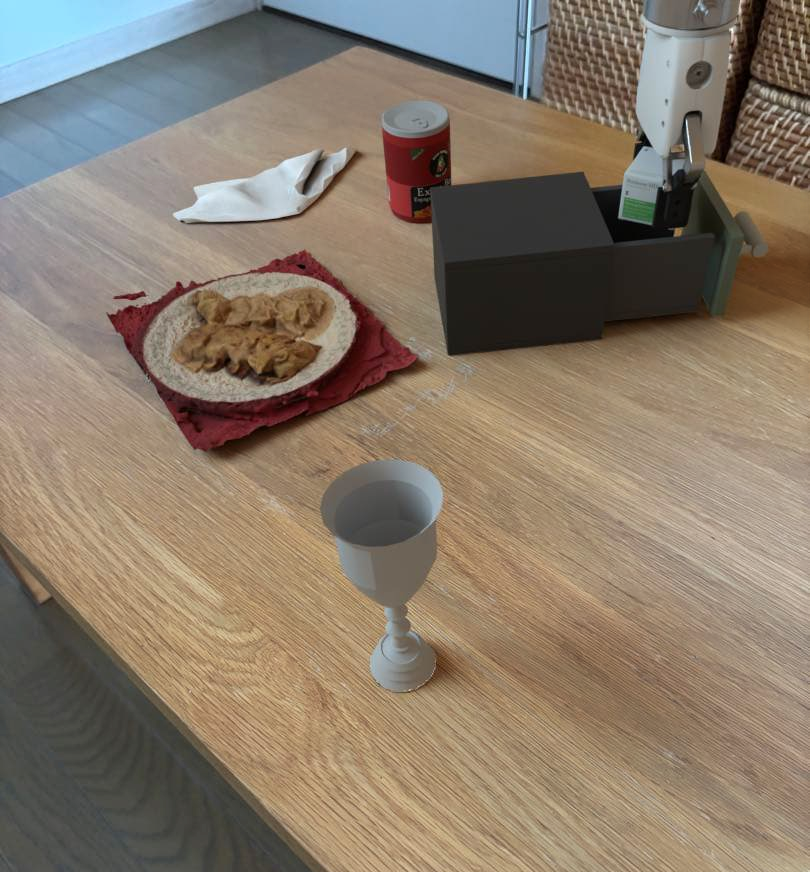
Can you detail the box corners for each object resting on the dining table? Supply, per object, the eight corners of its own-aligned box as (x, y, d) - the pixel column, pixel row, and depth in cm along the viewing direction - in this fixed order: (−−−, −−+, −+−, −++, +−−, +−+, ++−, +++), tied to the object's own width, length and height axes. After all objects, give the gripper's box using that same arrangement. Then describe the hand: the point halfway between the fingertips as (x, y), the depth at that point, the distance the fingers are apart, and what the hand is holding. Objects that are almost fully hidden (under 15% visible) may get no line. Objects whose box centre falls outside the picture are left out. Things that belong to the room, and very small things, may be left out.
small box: (616, 220, 83) (622, 171, 79) (636, 192, 86) (643, 143, 82) (674, 233, 81) (683, 183, 77) (693, 203, 84) (703, 154, 80)
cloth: (188, 247, 103) (183, 230, 101) (163, 195, 111) (158, 178, 109) (389, 190, 108) (388, 173, 106) (351, 145, 116) (349, 128, 115)
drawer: (728, 243, 94) (747, 165, 87) (767, 311, 86) (791, 231, 79) (556, 261, 94) (562, 184, 87) (580, 330, 86) (588, 252, 80)
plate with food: (201, 467, 79) (192, 441, 77) (110, 323, 93) (99, 296, 91) (421, 372, 86) (420, 344, 83) (305, 251, 100) (301, 224, 98)
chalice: (374, 719, 61) (344, 564, 48) (341, 646, 66) (303, 484, 52) (467, 680, 63) (463, 519, 49) (428, 611, 67) (415, 444, 53)
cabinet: (574, 263, 95) (583, 171, 87) (602, 339, 87) (614, 244, 78) (434, 278, 95) (430, 187, 87) (447, 355, 87) (444, 262, 79)
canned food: (419, 231, 102) (413, 139, 93) (375, 207, 106) (366, 116, 97) (466, 206, 104) (464, 114, 96) (422, 183, 109) (417, 93, 100)
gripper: (775, 37, 64) (724, 249, 78) (705, -42, 75) (671, 156, 89) (675, 47, 64) (641, 258, 78) (619, -33, 75) (598, 164, 89)
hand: (657, 203), depth 83 cm, fingers closed on small box, 7 cm apart
